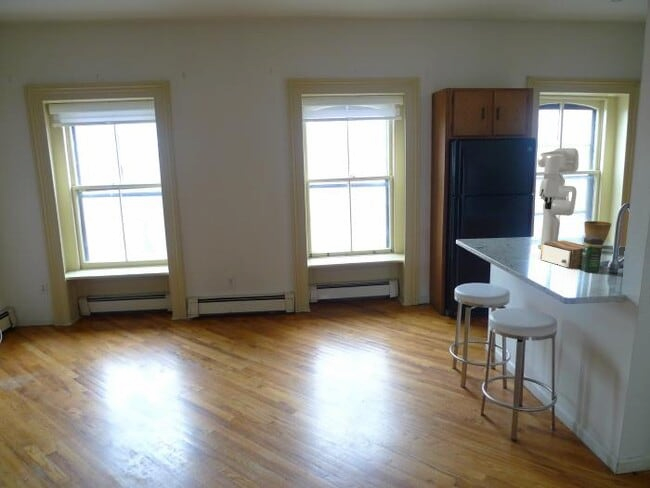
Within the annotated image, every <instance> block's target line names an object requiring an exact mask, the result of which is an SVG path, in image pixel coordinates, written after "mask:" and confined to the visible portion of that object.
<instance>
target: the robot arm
mask: <svg viewBox="0 0 650 488" xmlns="http://www.w3.org/2000/svg"><path fill="white" fill-rule="evenodd" d="M579 161H580V159H579V152H578V149H576V148H571V147H570V148H569V147H568V148H566V147H565V148H564V147H563V148H562V147H560V148H556V149H554V150H551V151H547V152H542V153H540V155H539V156H538V158H537V166H538V167H540V168H544V171H543V179H542V180H541V183H540V187H539V194H538V195H539V197H540V199H541V200H543V203H542V204H543V205H542V211H543V213H542V214H543V217H542V227H541V238H540V244H539V245H537V248H538V249H540V250H541V246H542V244H544V242H552V241H559V233H560V232H559V231H560V224H561V223H560V220H559V218H558V216H572V215H573V214H574V213H575V206H576V199H577V187H575V186H574V185H565V184H566V180H565V178H564V177H563V175H561V173H571V174H572V173H573V174H574V173H577V172H578V170H579V163H580V162H579Z"/></svg>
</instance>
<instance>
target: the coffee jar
mask: <svg viewBox="0 0 650 488" xmlns="http://www.w3.org/2000/svg"><path fill="white" fill-rule="evenodd" d="M582 243H583V244H582V245H583V253H582V260H581V266H580V268H579V269H581V270H582V271H583V272H585V273H587V272H588V273H591V274H594V273H595V274H596V273H599V272H600V267H601V260H602V258H601V256H602V250H603V246H604V244H603V240H602V239H600V238H598V237H596V236H586V235H585V237H584V238H583V242H582Z"/></svg>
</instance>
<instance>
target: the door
mask: <svg viewBox="0 0 650 488" xmlns="http://www.w3.org/2000/svg"><path fill="white" fill-rule="evenodd" d="M570 254H571V251H567V250H563V249H559V248H555V247H551V246H548V245H544V244H542V246H541V249H540V257H539V259H540V260H542V261H545V262H548V263H550V264H555V265H557V264H558V266H561V267H563V268H567V267H569V263H570Z"/></svg>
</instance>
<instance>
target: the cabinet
mask: <svg viewBox="0 0 650 488" xmlns="http://www.w3.org/2000/svg"><path fill="white" fill-rule="evenodd" d="M544 245H548V246H551V247H555V248H559V249H563V250H567V251H571V254H570V263H569V267H568V269H570V268H571V269H570V270H572V269H573V268H574V269H581V268H580V266H581V260H582V253H583V244H581V243H580V244H579V243H576V242H572V241H567V240H564V239H563V240H558V241H552V242H544Z"/></svg>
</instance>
